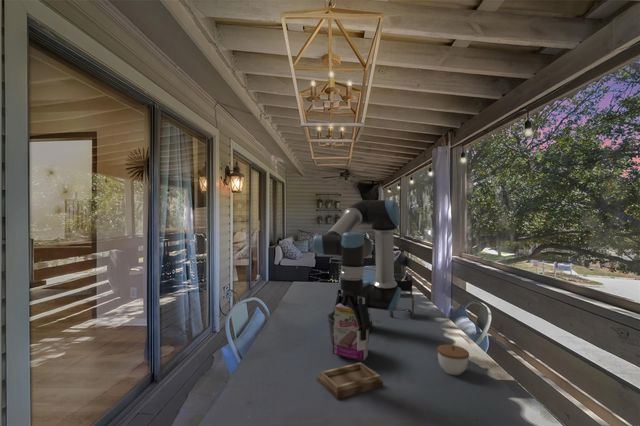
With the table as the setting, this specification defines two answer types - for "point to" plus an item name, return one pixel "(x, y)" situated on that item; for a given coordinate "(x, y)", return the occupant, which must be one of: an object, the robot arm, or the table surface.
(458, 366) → the lidded jar
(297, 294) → the table surface
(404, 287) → the chair
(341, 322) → the candy bar box
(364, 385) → the wooden tray
